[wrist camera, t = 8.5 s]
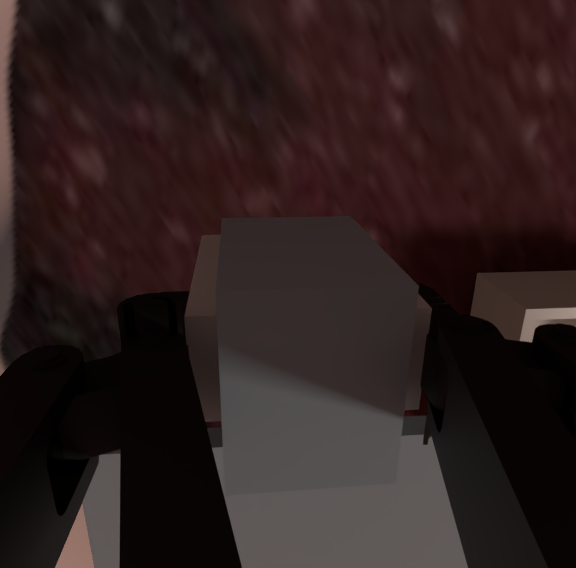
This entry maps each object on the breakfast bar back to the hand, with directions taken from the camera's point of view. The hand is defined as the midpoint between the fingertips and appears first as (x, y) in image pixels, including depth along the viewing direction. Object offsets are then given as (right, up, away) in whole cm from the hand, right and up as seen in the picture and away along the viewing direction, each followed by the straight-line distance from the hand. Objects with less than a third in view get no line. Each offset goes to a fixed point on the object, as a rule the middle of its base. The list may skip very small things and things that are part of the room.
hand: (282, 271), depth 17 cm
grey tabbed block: (0, -7, +1) cm, 7 cm away
